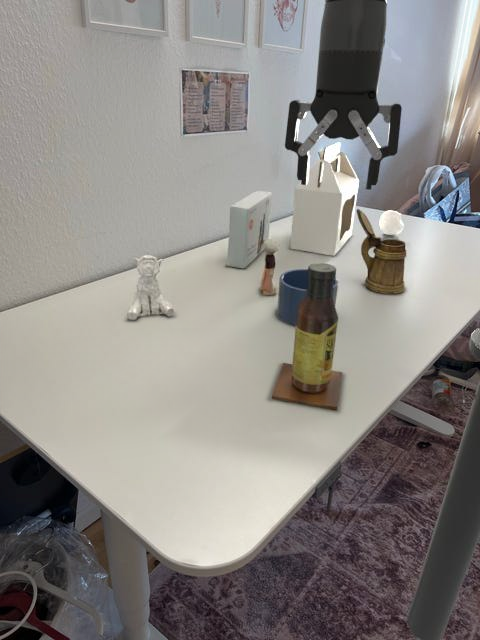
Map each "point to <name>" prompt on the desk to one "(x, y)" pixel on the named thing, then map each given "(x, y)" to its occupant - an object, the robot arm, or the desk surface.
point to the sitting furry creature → (148, 290)
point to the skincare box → (248, 228)
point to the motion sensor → (391, 223)
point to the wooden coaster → (291, 394)
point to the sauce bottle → (315, 331)
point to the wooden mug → (382, 260)
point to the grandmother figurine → (269, 267)
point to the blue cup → (295, 294)
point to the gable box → (325, 204)
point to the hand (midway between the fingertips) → (336, 186)
